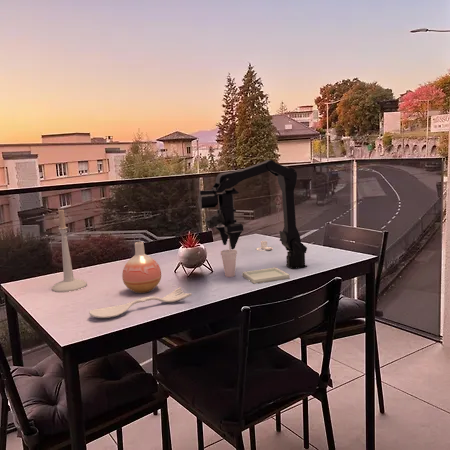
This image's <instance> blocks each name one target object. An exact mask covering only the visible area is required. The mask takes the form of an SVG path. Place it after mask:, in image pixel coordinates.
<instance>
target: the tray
mask: <svg viewBox="0 0 450 450" xmlns="http://www.w3.org/2000/svg"><path fill="white" fill-rule="evenodd" d="M241 274H242V277H243V278H245V279H246V280H247V281H249V280H250V281H249V282H250V283H252V284H254V285H257V284H256V283H258V284H262V283H263V282H264V283H270V282H277V281H281V280H288V279H291V275H290V274H289V273H287V272H285V271H284V270H282V269H280V268H277V267H270V268H263V269H256V270H248V271H243V272H241Z"/></svg>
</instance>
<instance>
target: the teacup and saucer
mask: <svg viewBox="0 0 450 450" xmlns="http://www.w3.org/2000/svg"><path fill="white" fill-rule="evenodd" d="M273 249H274V248H273V247H271V246H268V240H261V241H260V247H257V248H256V251H259V252H265V251H271V250H273Z"/></svg>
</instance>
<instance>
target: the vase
mask: <svg viewBox="0 0 450 450" xmlns="http://www.w3.org/2000/svg"><path fill="white" fill-rule="evenodd" d="M134 250H135V251H134V255H133V256H132V257H131V258H129V259H128V260H127V262H126V263H125V265H124V266H123V269H122V275H121V277H122V282H123V284H124V285H125V287H126V288H128V289H129V290H130V291H132V292H133V293H135V294H146V293H150V292H152V291H154V289H155V288H156V287H157V286H158V285H159V284H160V282H161V279H162V271H161V267H160V265H159V264H158V262H157V260H155V259H154V258H153V257H152V256H149V255H148V254H146V253H145V245H144V242H143V241H135V242H134Z"/></svg>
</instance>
